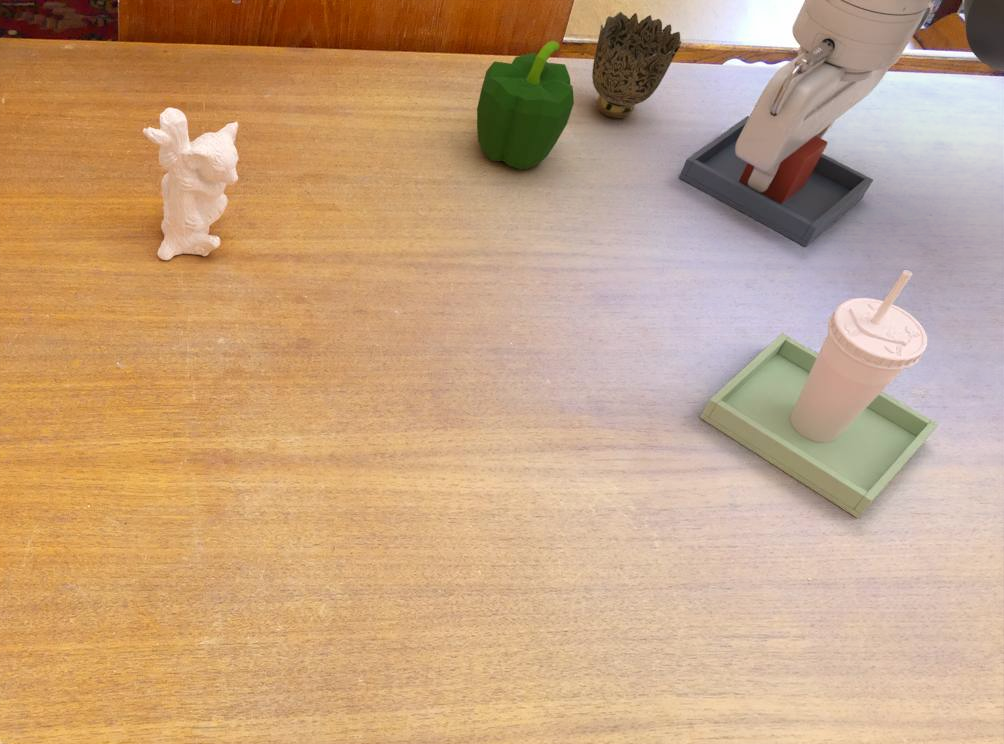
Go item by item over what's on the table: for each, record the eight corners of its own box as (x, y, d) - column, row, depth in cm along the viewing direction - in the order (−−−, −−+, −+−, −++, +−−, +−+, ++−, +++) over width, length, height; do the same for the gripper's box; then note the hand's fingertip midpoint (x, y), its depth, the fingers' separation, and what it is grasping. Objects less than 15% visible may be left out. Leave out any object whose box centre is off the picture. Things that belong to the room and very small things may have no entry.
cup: (595, 81, 112) (622, 2, 106) (662, 109, 110) (694, 30, 104) (563, 112, 109) (588, 32, 102) (632, 141, 106) (662, 62, 100)
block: (805, 185, 103) (828, 141, 100) (781, 204, 101) (804, 160, 97) (762, 163, 105) (784, 119, 101) (738, 181, 103) (759, 137, 99)
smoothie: (798, 382, 87) (893, 233, 76) (872, 427, 84) (982, 281, 73) (756, 421, 84) (848, 272, 73) (832, 469, 81) (940, 323, 70)
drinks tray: (924, 442, 85) (939, 424, 83) (857, 518, 79) (872, 500, 78) (771, 351, 90) (782, 332, 88) (699, 417, 84) (709, 399, 83)
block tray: (862, 198, 103) (873, 179, 102) (805, 247, 98) (816, 228, 97) (739, 134, 108) (747, 115, 107) (678, 177, 103) (686, 158, 102)
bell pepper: (503, 189, 100) (534, 86, 92) (450, 141, 104) (475, 37, 96) (574, 167, 103) (610, 64, 95) (520, 120, 107) (549, 18, 99)
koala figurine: (159, 278, 90) (159, 145, 80) (125, 229, 93) (121, 96, 83) (251, 252, 92) (263, 121, 83) (215, 206, 96) (222, 75, 86)
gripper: (830, 82, 85) (752, 233, 96) (942, 0, 94) (859, 146, 105) (758, 47, 87) (690, 198, 98) (874, -29, 97) (800, 116, 108)
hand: (778, 170), depth 102 cm, fingers open, 6 cm apart
